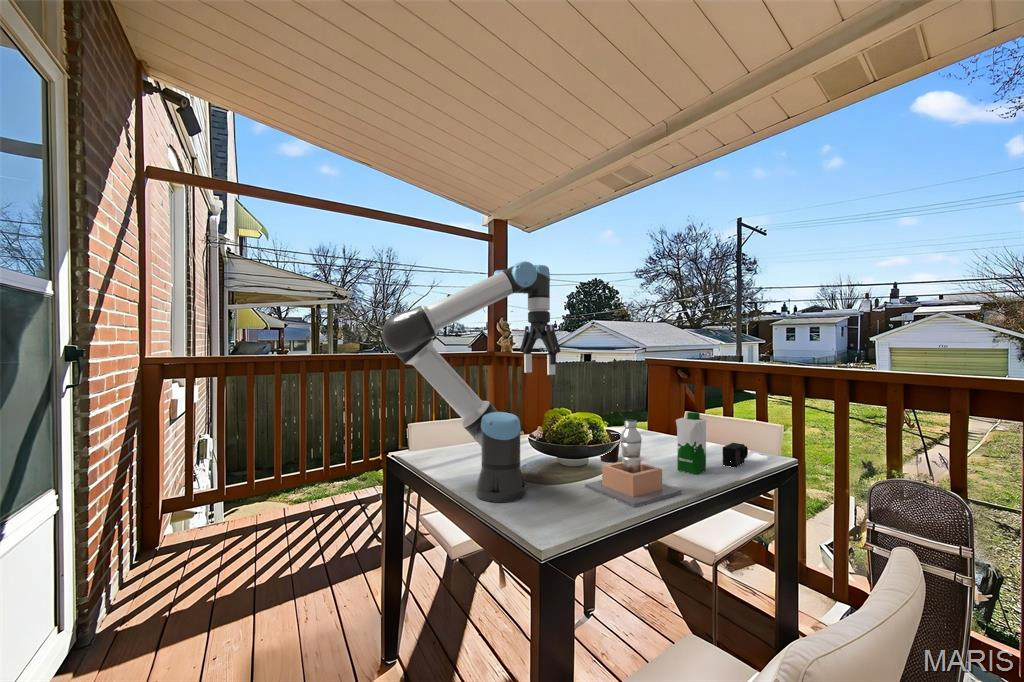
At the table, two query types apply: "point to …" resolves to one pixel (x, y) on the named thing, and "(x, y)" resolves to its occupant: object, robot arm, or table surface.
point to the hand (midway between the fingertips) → (539, 373)
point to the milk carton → (691, 443)
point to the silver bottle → (631, 447)
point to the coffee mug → (611, 454)
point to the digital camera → (734, 454)
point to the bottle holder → (632, 485)
